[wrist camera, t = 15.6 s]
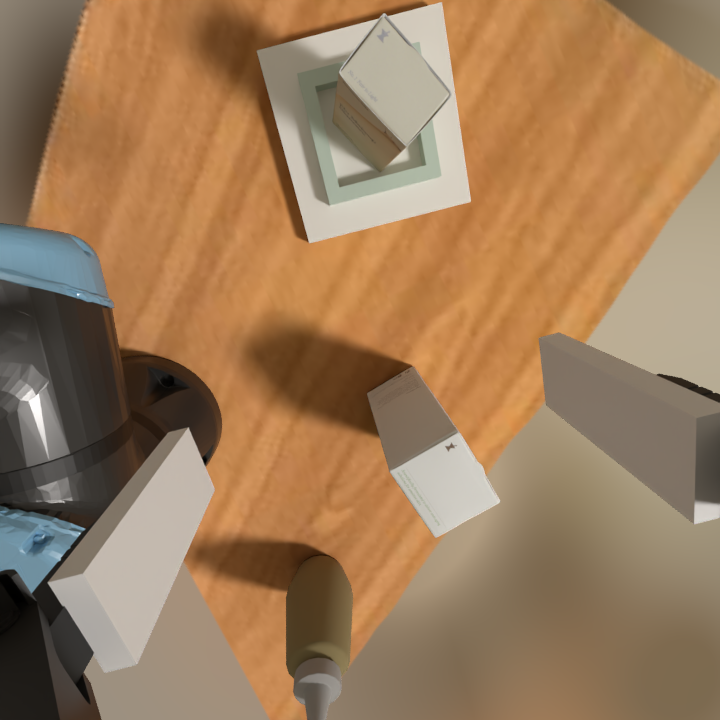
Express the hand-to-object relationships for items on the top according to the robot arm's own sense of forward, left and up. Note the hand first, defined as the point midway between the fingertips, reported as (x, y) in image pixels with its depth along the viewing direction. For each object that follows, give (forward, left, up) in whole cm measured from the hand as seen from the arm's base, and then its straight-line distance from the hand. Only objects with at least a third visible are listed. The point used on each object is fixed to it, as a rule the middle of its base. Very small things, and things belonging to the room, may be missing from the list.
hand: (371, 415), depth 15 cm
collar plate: (+6, +14, -29) cm, 32 cm away
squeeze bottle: (-12, -34, -29) cm, 46 cm away
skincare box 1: (+6, +14, -27) cm, 31 cm away
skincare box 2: (+4, -14, -29) cm, 32 cm away
